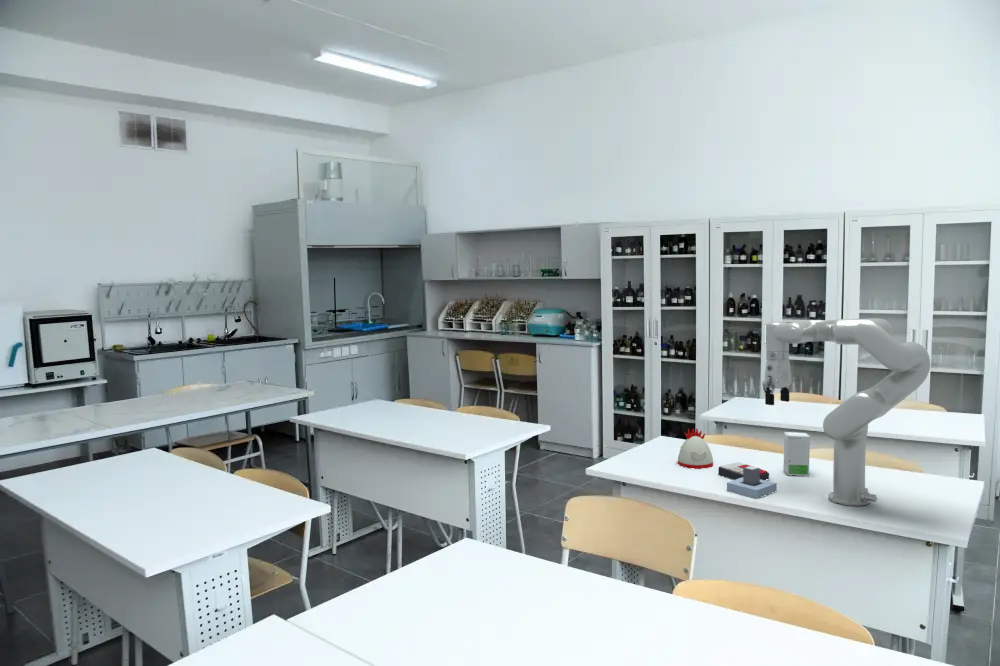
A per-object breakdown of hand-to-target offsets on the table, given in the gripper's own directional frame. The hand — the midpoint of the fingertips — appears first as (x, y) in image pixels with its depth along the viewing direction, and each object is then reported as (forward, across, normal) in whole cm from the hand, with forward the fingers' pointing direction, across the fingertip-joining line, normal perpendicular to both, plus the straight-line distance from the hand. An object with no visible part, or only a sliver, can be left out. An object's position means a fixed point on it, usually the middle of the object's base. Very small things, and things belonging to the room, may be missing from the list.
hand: (777, 402), depth 246 cm
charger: (+30, -13, +2) cm, 33 cm away
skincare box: (+31, +18, +3) cm, 36 cm away
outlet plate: (+30, -13, +2) cm, 33 cm away
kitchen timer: (+31, +1, +37) cm, 48 cm away
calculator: (+31, -1, +14) cm, 34 cm away
